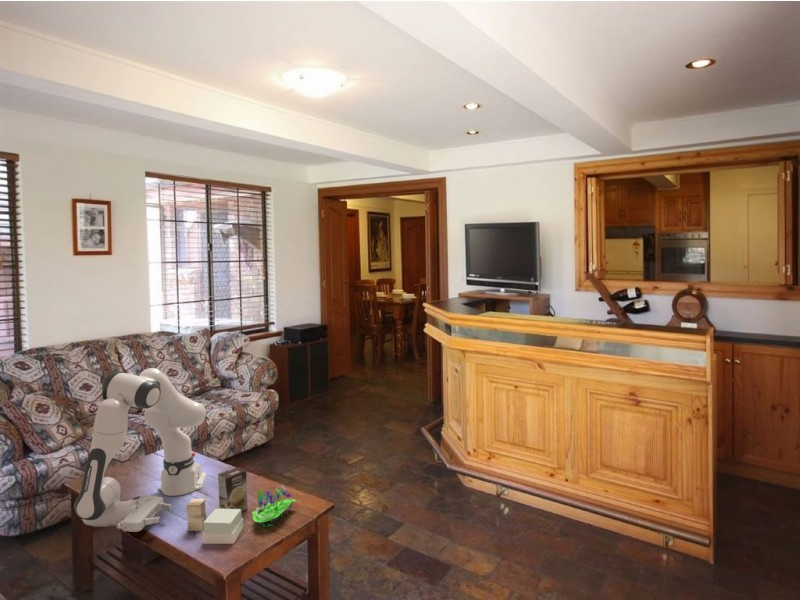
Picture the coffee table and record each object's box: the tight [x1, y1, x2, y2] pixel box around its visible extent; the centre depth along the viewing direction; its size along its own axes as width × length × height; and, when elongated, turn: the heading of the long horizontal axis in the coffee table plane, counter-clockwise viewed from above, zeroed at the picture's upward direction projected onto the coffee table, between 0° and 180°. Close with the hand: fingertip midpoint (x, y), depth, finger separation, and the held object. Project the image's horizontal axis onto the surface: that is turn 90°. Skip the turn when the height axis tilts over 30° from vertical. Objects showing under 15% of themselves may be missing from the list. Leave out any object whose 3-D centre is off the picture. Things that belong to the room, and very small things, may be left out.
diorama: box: [251, 485, 297, 527], centre depth 208 cm, size 14×20×12 cm
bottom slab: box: [201, 517, 245, 545], centre depth 196 cm, size 11×11×4 cm
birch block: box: [186, 498, 207, 532], centre depth 202 cm, size 5×5×10 cm
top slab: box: [203, 508, 243, 534], centre depth 196 cm, size 10×10×4 cm
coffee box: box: [217, 466, 249, 513], centre depth 213 cm, size 9×6×16 cm
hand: (164, 513), depth 202 cm, fingers open, 8 cm apart
